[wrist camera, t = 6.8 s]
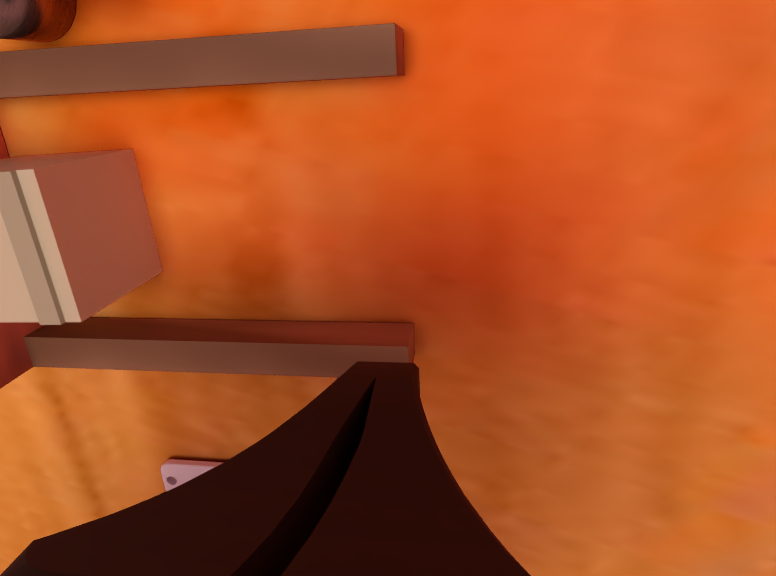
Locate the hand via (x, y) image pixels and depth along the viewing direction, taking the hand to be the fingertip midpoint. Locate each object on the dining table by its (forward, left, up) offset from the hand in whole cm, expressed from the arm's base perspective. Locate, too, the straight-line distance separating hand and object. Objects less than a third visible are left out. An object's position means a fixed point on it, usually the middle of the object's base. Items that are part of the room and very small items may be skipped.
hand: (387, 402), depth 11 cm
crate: (+2, +14, -10) cm, 17 cm away
